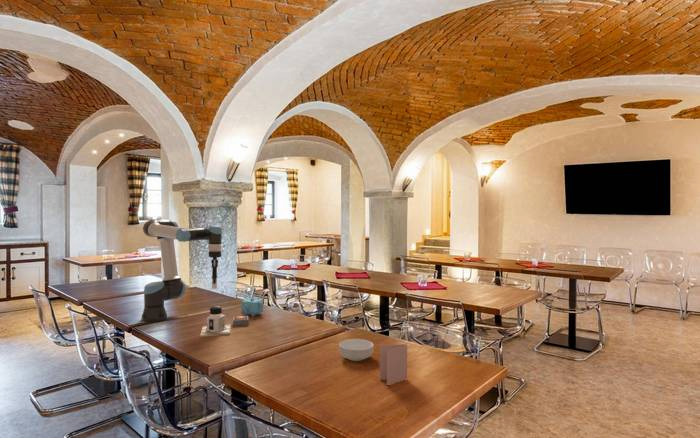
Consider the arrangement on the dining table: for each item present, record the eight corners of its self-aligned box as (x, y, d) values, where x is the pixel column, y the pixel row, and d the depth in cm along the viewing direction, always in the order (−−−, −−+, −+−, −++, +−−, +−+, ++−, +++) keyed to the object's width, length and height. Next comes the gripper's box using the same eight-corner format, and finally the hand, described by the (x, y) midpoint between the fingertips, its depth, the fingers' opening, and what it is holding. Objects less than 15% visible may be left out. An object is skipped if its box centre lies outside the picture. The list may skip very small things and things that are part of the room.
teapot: (235, 316, 280) (235, 299, 280) (251, 310, 297) (251, 294, 297) (255, 319, 274) (255, 301, 274) (270, 312, 291) (270, 296, 291)
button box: (233, 322, 267) (233, 316, 266) (248, 321, 269) (248, 315, 269) (233, 326, 258) (233, 320, 258) (248, 325, 260) (248, 319, 260)
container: (218, 331, 243) (218, 308, 242) (206, 330, 244) (206, 308, 244) (225, 327, 250) (225, 305, 250) (213, 326, 252) (212, 305, 251)
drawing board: (202, 327, 254) (202, 325, 254) (230, 326, 258) (230, 323, 258) (200, 336, 237) (200, 334, 237) (229, 334, 241) (229, 332, 241)
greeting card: (406, 378, 180) (406, 343, 180) (409, 386, 173) (409, 349, 172) (379, 379, 180) (379, 344, 179) (381, 386, 172) (381, 350, 172)
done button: (235, 320, 265) (235, 316, 265) (245, 319, 267) (245, 315, 267) (235, 322, 260) (235, 318, 260) (245, 322, 261) (245, 318, 261)
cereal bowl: (362, 367, 193) (362, 352, 192) (332, 360, 201) (332, 345, 201) (379, 356, 207) (379, 342, 207) (350, 350, 216) (350, 336, 215)
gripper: (221, 251, 257) (220, 290, 258) (221, 249, 269) (220, 286, 270) (208, 252, 255) (207, 290, 256) (209, 249, 267) (208, 286, 268)
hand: (214, 288), depth 263 cm, fingers closed
